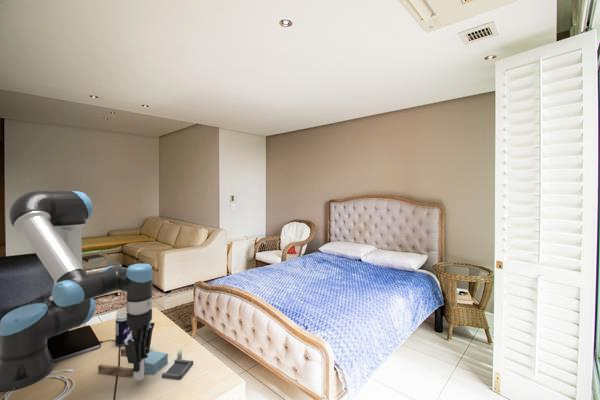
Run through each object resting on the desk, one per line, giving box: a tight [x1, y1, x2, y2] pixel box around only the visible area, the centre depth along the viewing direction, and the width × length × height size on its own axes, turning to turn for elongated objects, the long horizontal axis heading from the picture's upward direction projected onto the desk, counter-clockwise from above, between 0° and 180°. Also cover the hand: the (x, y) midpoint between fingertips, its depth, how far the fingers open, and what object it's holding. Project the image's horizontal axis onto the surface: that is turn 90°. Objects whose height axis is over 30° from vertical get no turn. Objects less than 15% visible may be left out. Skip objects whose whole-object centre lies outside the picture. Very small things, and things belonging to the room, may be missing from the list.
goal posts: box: [150, 346, 183, 360], centre depth 110 cm, size 14×2×3 cm, turn 83°
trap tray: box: [161, 358, 194, 381], centre depth 102 cm, size 7×9×1 cm
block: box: [144, 350, 169, 376], centre depth 103 cm, size 7×7×4 cm
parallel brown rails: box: [97, 347, 151, 378], centre depth 104 cm, size 13×12×2 cm
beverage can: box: [114, 312, 129, 347], centre depth 118 cm, size 6×6×12 cm
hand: (138, 378), depth 95 cm, fingers closed
